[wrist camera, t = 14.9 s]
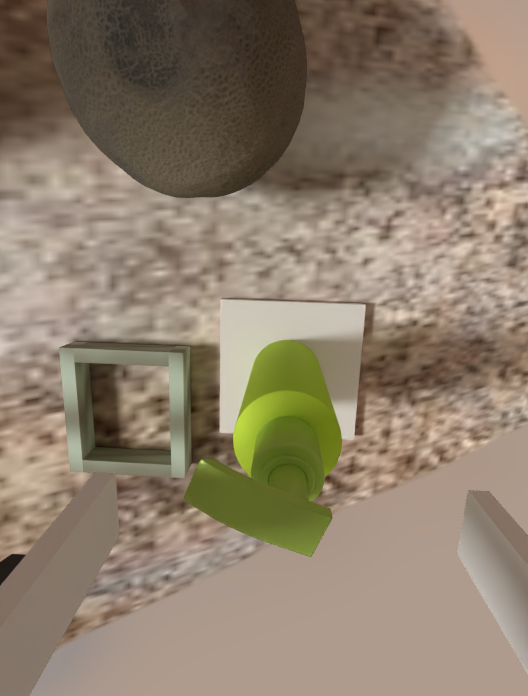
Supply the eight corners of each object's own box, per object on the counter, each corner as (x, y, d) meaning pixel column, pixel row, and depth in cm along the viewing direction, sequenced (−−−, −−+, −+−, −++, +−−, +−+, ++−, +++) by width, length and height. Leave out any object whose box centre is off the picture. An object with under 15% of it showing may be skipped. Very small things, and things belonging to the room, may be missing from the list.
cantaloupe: (118, 203, 32) (-19, 158, 18) (123, 1, 29) (-41, -256, 14) (289, 221, 32) (293, 191, 17) (313, 19, 29) (342, -226, 14)
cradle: (74, 341, 35) (59, 347, 33) (190, 346, 35) (182, 352, 32) (84, 457, 38) (70, 471, 35) (191, 463, 37) (185, 478, 35)
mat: (222, 298, 34) (220, 299, 33) (364, 303, 33) (365, 304, 32) (221, 428, 36) (219, 432, 36) (352, 435, 36) (353, 439, 35)
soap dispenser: (257, 323, 33) (218, 418, 14) (332, 356, 33) (398, 493, 14) (230, 384, 34) (161, 549, 15) (303, 415, 35) (326, 616, 15)
